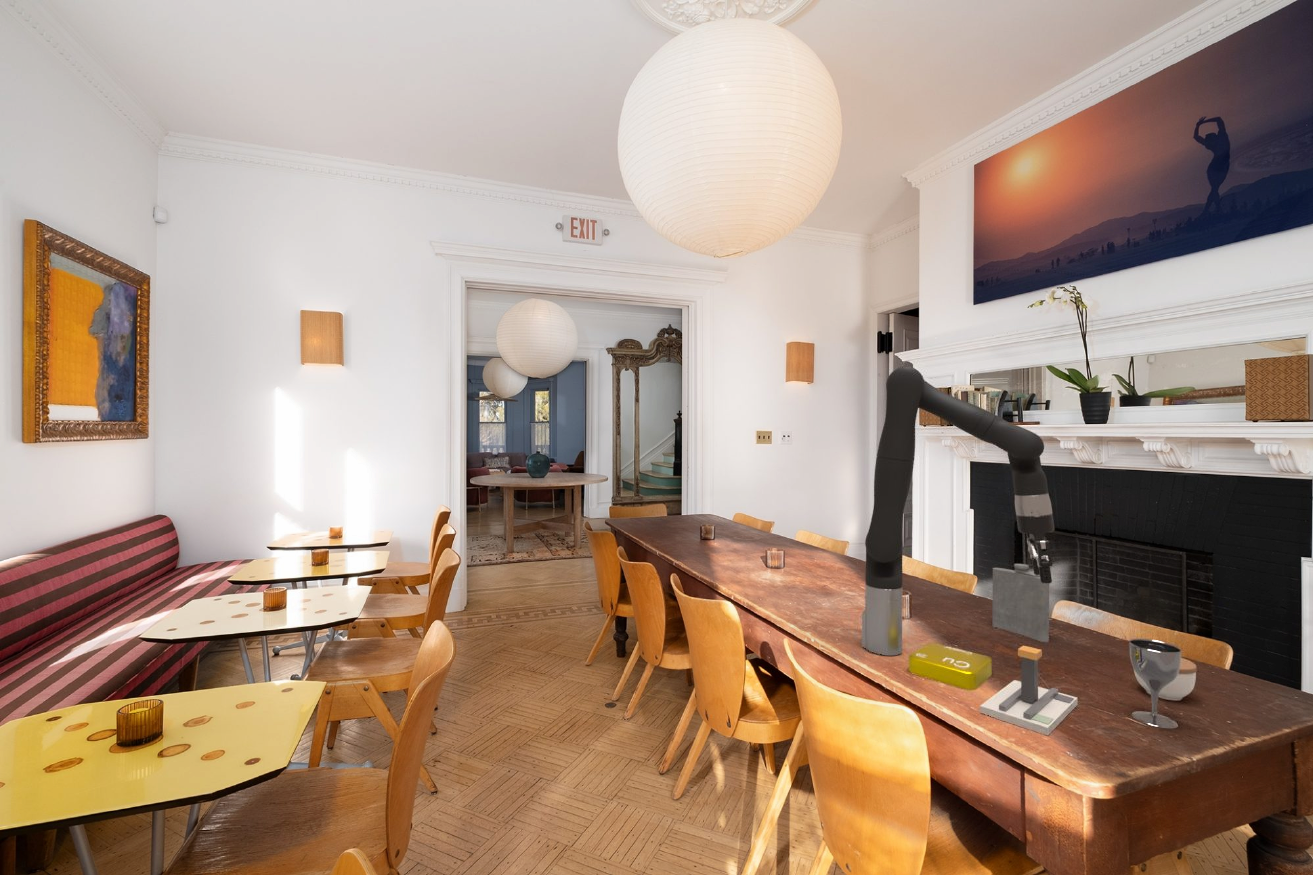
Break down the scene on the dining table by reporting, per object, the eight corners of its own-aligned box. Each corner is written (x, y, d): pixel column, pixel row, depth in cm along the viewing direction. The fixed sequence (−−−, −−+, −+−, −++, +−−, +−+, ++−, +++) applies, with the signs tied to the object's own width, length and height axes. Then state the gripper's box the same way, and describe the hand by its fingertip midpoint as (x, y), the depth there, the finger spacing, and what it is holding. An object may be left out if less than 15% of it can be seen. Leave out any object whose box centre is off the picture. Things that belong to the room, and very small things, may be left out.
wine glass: (1118, 711, 122) (1119, 638, 122) (1154, 709, 122) (1154, 638, 122) (1154, 730, 114) (1155, 652, 114) (1192, 728, 114) (1192, 651, 114)
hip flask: (990, 626, 177) (990, 559, 177) (998, 624, 179) (999, 558, 179) (1044, 642, 163) (1044, 570, 163) (1053, 640, 164) (1053, 569, 164)
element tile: (994, 675, 141) (994, 655, 141) (973, 693, 131) (973, 672, 131) (929, 657, 152) (929, 639, 152) (905, 673, 141) (905, 654, 141)
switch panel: (980, 713, 120) (980, 700, 120) (1014, 686, 133) (1014, 675, 133) (1047, 735, 111) (1047, 722, 111) (1077, 704, 124) (1077, 693, 124)
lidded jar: (1120, 683, 135) (1120, 643, 135) (1168, 684, 135) (1168, 644, 135) (1158, 704, 125) (1159, 660, 125) (1210, 705, 124) (1210, 661, 124)
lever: (1017, 699, 122) (1017, 649, 122) (1023, 695, 125) (1023, 645, 125) (1036, 705, 120) (1036, 653, 120) (1041, 700, 122) (1041, 649, 122)
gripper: (1011, 509, 152) (1020, 572, 151) (1020, 517, 138) (1030, 586, 138) (1045, 507, 148) (1054, 571, 148) (1058, 515, 135) (1068, 585, 135)
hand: (1042, 578), depth 143 cm, fingers open, 8 cm apart
